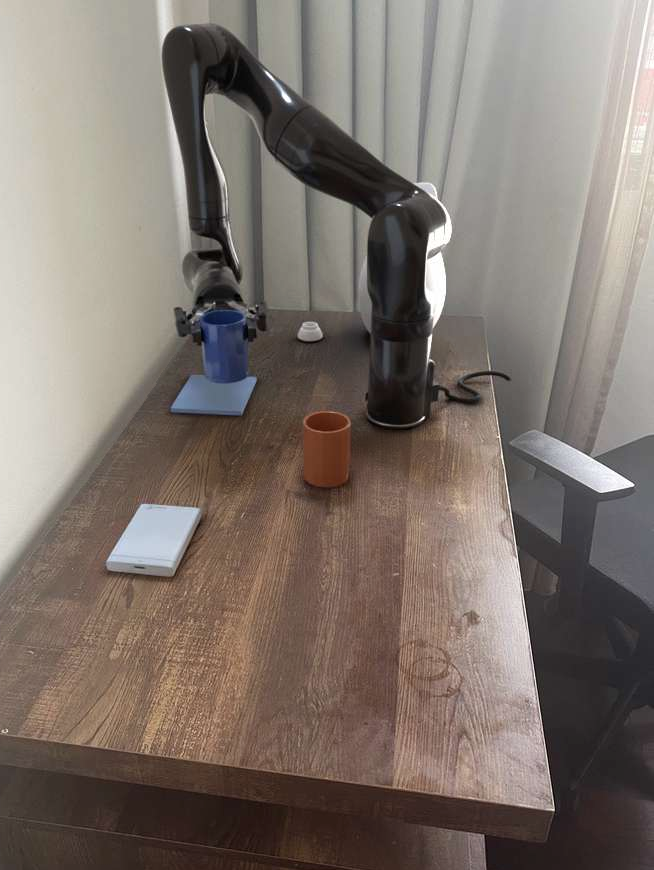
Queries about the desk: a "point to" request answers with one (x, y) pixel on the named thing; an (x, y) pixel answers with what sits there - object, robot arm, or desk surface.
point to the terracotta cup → (326, 448)
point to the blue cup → (224, 346)
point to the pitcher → (433, 282)
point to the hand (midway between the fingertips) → (225, 337)
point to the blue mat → (213, 396)
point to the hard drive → (155, 540)
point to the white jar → (310, 332)
